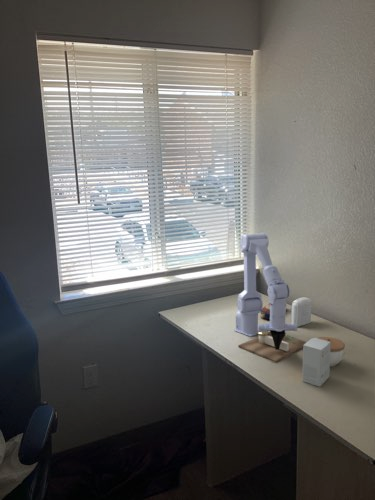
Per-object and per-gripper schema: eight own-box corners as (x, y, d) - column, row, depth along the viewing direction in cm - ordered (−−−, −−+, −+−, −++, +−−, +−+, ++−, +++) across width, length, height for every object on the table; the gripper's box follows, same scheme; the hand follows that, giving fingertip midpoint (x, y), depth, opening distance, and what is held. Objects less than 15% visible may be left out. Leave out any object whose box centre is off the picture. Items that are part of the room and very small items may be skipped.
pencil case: (294, 312, 201) (294, 303, 200) (268, 322, 188) (268, 312, 187) (276, 307, 209) (276, 297, 208) (250, 316, 197) (250, 306, 196)
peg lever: (255, 342, 165) (255, 332, 164) (261, 339, 167) (262, 329, 166) (284, 353, 154) (284, 342, 153) (290, 350, 157) (291, 339, 156)
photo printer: (304, 320, 190) (305, 294, 188) (312, 323, 186) (313, 297, 184) (289, 325, 184) (290, 299, 182) (296, 328, 181) (297, 301, 178)
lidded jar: (349, 368, 144) (350, 343, 142) (321, 370, 143) (322, 345, 141) (334, 354, 155) (335, 331, 153) (307, 357, 153) (308, 333, 151)
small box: (311, 371, 142) (313, 336, 139) (329, 377, 138) (331, 341, 135) (301, 381, 136) (302, 344, 133) (319, 387, 132) (321, 349, 129)
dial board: (238, 347, 163) (238, 344, 162) (272, 332, 177) (272, 329, 177) (275, 362, 149) (275, 359, 149) (309, 344, 163) (309, 342, 163)
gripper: (259, 318, 149) (259, 353, 151) (299, 318, 148) (298, 352, 151) (257, 312, 156) (256, 345, 158) (295, 311, 155) (294, 344, 158)
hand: (276, 348), depth 155 cm, fingers closed
